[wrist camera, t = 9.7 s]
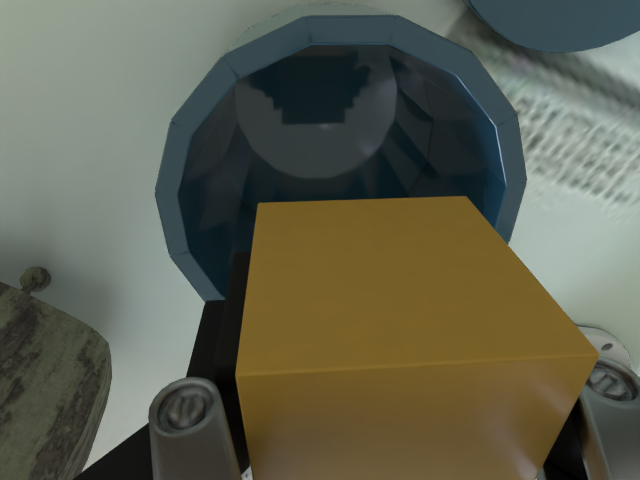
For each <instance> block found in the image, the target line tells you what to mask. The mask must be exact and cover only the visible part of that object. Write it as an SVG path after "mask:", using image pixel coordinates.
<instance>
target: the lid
mask: <svg viewBox="0 0 640 480" xmlns="http://www.w3.org/2000/svg"><path fill="white" fill-rule="evenodd" d="M464 1H465V2H466V4H467V5H468V6H469V8H470V9H471V10H472V11H473V13H474V14H475V15H476V16H477V18H478V19H479V20H480V21H482V22H483V23H484V24H485V25H486V26H487V27H488V28H489V29H490V30H492V31H493V32H495V33H496V34H498V35H499V36H501V37H503V38H504V39H506V40H508V41H510V42H513V43H515V44H517V45H520V46H522V47H526V48H530V49H535V50H539V51H544V52H558V53H565V52H577V51H584V50H588V49H593V48H597V47H601V46H604V45H607V44H610V43H612V42H615V41H618V40H621V39H623V38H625V37H627V36H629V35H631V34H633V33H635V32H637V31H639V30H640V0H464Z"/></svg>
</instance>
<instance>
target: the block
mask: <svg viewBox="0 0 640 480" xmlns="http://www.w3.org/2000/svg"><path fill="white" fill-rule="evenodd" d="M599 356H600V354H599V352H598V351H597V350H596V348H595V347H594V346H593V345H592V344H591V343H590V341H589V340H588V339H587V338H586V337H585V335H584V334H583V333H582V332H581V331H580V330H579V328H578V327H577V326H576V325H575V324H574V323H573V321H572V320H571V319H570V318H569V317H568V315H567V314H566V313H565V312H564V311H563V310H562V308H561V307H560V306H559V305H558V304H557V302H556V301H555V300H554V299H553V298H552V297H551V295H550V294H549V293H548V292H547V291H546V290H545V288H544V287H543V286H542V285H541V284H540V282H539V281H538V280H537V279H536V278H535V277H534V275H533V274H532V273H531V272H530V271H529V269H528V268H527V267H526V266H525V265H524V264H523V262H522V261H521V260H520V259H519V258H518V257H517V255H516V254H515V253H514V252H513V251H512V249H511V248H510V247H509V246H508V245H507V244H506V242H505V241H504V240H503V239H502V238H501V236H500V235H499V234H498V233H497V232H496V231H495V229H494V228H493V227H492V226H491V225H490V224H489V222H488V221H487V220H486V219H485V218H484V216H483V215H482V214H481V213H480V212H479V211H478V209H477V208H476V207H475V206H474V205H473V203H472V202H471V201H470V200H469V199H468V198H467V197H466V196H450V197H420V198H390V199H359V200H329V201H299V202H269V203H258V206H257V214H256V221H255V229H254V236H253V244H252V251H251V259H250V267H249V274H248V282H247V289H246V297H245V304H244V312H243V319H242V327H241V334H240V342H239V349H238V357H237V364H236V372H235V377H236V383H237V389H238V395H239V401H240V407H241V413H242V419H243V425H244V431H245V436H246V442H247V448H248V454H249V460H250V466H251V472H252V478H253V480H535V479H536V477H537V476H538V474H539V472H540V470H541V468H542V466H543V464H544V462H545V460H546V458H547V456H548V454H549V452H550V451H551V449H552V447H553V445H554V443H555V441H556V439H557V437H558V435H559V433H560V431H561V429H562V427H563V426H564V424H565V422H566V420H567V418H568V416H569V414H570V412H571V410H572V408H573V406H574V404H575V402H576V401H577V399H578V397H579V395H580V393H581V391H582V389H583V387H584V385H585V383H586V381H587V379H588V377H589V376H590V374H591V372H592V370H593V368H594V366H595V364H596V362H597V360H598V358H599Z"/></svg>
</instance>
